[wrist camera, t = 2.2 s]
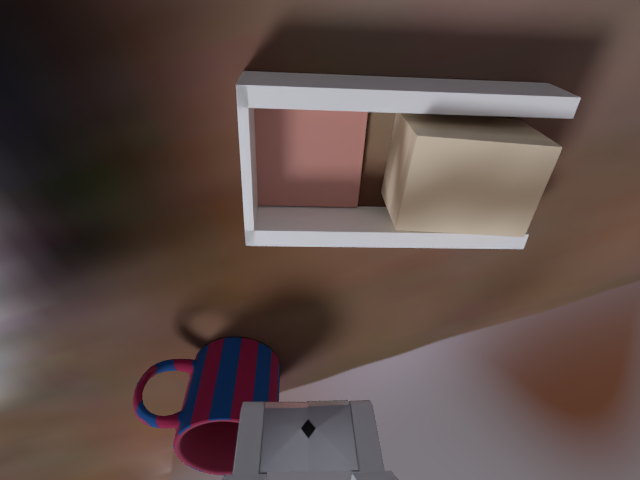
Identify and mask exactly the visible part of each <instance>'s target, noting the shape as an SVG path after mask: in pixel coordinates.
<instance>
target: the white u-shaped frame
mask: <svg viewBox="0 0 640 480" xmlns="http://www.w3.org/2000/svg"><path fill="white" fill-rule="evenodd" d="M236 96H237V112H238V129H239V145H240V161H241V177H242V193H243V210H244V226H245V242H246V246H306V247H390V248H474V249H524V246H525V244H526V241H527V238H528V236H529V234H528V233H527V232H526V234H525V236H524V237H510V236H493V235H475V234H458V233H440V232H423V231H406V230H395V227H394V225H393V222H392V220H391V217H390V214H389V212H388V209H387V207H367V206H358V198H359V189H360V180H361V171H362V161H363V152H364V143H365V134H366V125H367V116H368V112H386V113H416V114H446V115H475V116H505V117H535V118H565V119H573V118H574V115H575V112H576V110H577V107H578V104H579V102H580V99H581V97H579V96H577V95H574V94H572V93H570V92H568V91H565V90H563V89H561V88H559V87H557V86H554V85H552V84H550V83H538V82H513V81H487V80H462V79H437V78H411V77H386V76H361V75H335V74H310V73H285V72H259V71H243V72H242V74H241V76H240V78H239V80H238V81H237V83H236Z"/></svg>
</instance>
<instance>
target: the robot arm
mask: <svg viewBox="0 0 640 480" xmlns="http://www.w3.org/2000/svg"><path fill="white" fill-rule="evenodd" d="M222 480H398V479H397V477H396V476H395V475H394V474H393V472H392V471H385V470H384V464H383V459H382V453H381V448H380V442H379V437H378V431H377V426H376V420H375V415H374V410H373V405H372V403H371V401H370V400H362V401H348V400H334V401H307V402H243V404H242V407H241V412H240V419H239V427H238V435H237V443H236V450H235V458H234V466H233V474H228V475H225V476H224V478H223V479H222Z"/></svg>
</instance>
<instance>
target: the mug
mask: <svg viewBox="0 0 640 480" xmlns="http://www.w3.org/2000/svg"><path fill="white" fill-rule="evenodd" d="M165 371H185V372H187V373H190V379H189V383H188V387H187V391H186V394H185V398H184V402H183V406H182V410H181V411H180V412H178V413H175V414H173V415H168V416H158V415H155V414H152V413H150V412H149V411H148V410H147V409H146V408H145V406H144V405H143V400H142V392H143V389H144V387H145V385H146V383H147V381H148V380H149V379H150V378H151V377H153V376H154V375H156V374H158V373H161V372H165ZM279 383H280V363H279V360H278V358H277V356H276V354H275V353H274V352H273V351H272V350H271V349H270V348H269V347H267V346H266V345H264V344H262V343H260V342H258V341H255V340H252V339H248V338H241V337H230V338H223V339H219V340H216V341H214V342H211V343H209V344H208V345H206V346H204V347H203V348H202V349H201V350H200V351H199V353H198V354H197V356H196V358H195V360H191V359H171V360H166V361H162V362H159V363H157V364H155V365H153V366H152V367H150V368H149V369H148V370H147V371H146V372H145V373H144V374H143V376H142V377H141V379H140V380H139V382H138V383H137V386H136V389H135V392H134V397H133V410H134V414H135V416H136V417H137V419H138V420H139V421H141V422H142V423H143V424H146V425H148V426H151V427H156V428H176V434H175V439H174V445H173V447H174V451H175V453H176V455H177V457H178V458H179V459H180V460H181V461H182V462H184V463H185V464H186V465H188V466H190V467H191V468H193V469H196V470H199V471H201V472H205V473H209V474H215V475H228V474H233V466H234V458H235V450H236V443H237V435H238V427H239V419H240V412H241V407H242V404H243V402H279Z"/></svg>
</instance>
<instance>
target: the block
mask: <svg viewBox="0 0 640 480" xmlns="http://www.w3.org/2000/svg"><path fill="white" fill-rule="evenodd" d="M562 148H563V147H562V146H560V145H559V144H557V143H556V142H554V141H553V140H551V139H549V138H548V137H546V136H545V135H543V134H542V133H540V132H539V131H537V130H536V129H534V128H533V127H531V126H530V125H528V124H527V123H525V122H524V121H522V120H520V119H510V118H498V117H486V116H475V115H446V114H416V113H396V117H395V122H394V127H393V133H392V138H391V143H390V148H389V153H388V158H387V163H386V168H385V173H384V179H383V184H382V189H381V194H382V196H383V199H384V202H385V204H386V207H387V209H388V212H389V214H390V217H391V220H392V222H393V225H394V227H395V230H406V231H423V232H440V233H458V234H475V235H493V236H510V237H524V236H525V234H526V232H527V229H528V227H529V225H530V222H531V220H532V218H533V215H534V213H535V211H536V208H537V206H538V204H539V201H540V199H541V197H542V194H543V192H544V190H545V187H546V185H547V183H548V180H549V178H550V176H551V173H552V171H553V169H554V166H555V164H556V162H557V159H558V157H559V155H560V153H561V150H562Z"/></svg>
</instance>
